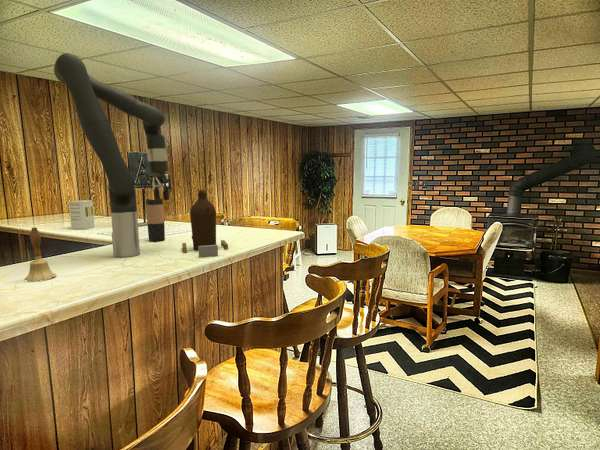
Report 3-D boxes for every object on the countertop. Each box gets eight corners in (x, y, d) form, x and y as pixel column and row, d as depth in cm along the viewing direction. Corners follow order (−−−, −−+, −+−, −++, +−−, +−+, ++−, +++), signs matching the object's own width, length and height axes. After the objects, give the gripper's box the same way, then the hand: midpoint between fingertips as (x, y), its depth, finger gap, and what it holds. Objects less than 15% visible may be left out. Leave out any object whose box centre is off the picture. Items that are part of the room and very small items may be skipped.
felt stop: (199, 257, 143) (198, 247, 142) (198, 256, 145) (198, 246, 144) (217, 255, 145) (217, 245, 144) (217, 254, 147) (216, 244, 146)
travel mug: (159, 242, 176) (156, 199, 173) (145, 242, 178) (142, 199, 175) (168, 239, 183) (165, 198, 181) (154, 239, 185) (151, 198, 182)
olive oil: (222, 247, 162) (220, 188, 159) (208, 251, 153) (204, 190, 149) (202, 245, 166) (199, 188, 163) (186, 250, 157) (183, 190, 153)
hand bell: (20, 283, 111) (14, 230, 109) (28, 276, 119) (22, 226, 117) (53, 280, 115) (48, 228, 113) (58, 273, 122) (53, 225, 120)
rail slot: (183, 253, 151) (182, 248, 151) (182, 247, 162) (182, 243, 162) (228, 249, 157) (228, 244, 157) (224, 244, 168) (224, 240, 168)
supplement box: (86, 229, 223) (83, 201, 220) (70, 229, 223) (68, 201, 221) (95, 227, 232) (92, 200, 230) (80, 227, 232) (77, 200, 230)
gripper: (141, 161, 157) (145, 199, 159) (156, 159, 147) (160, 201, 149) (158, 160, 162) (162, 198, 164) (174, 159, 152) (178, 199, 154)
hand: (161, 199), depth 157 cm, fingers open, 8 cm apart
